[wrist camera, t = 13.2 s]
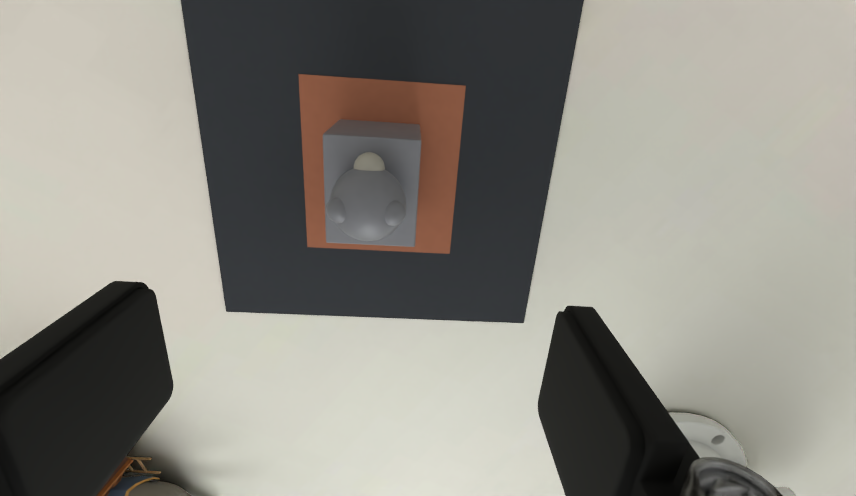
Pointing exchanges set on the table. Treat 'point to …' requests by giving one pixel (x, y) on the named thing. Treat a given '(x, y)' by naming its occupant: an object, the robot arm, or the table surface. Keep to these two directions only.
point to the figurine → (138, 482)
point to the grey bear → (371, 182)
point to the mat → (381, 102)
